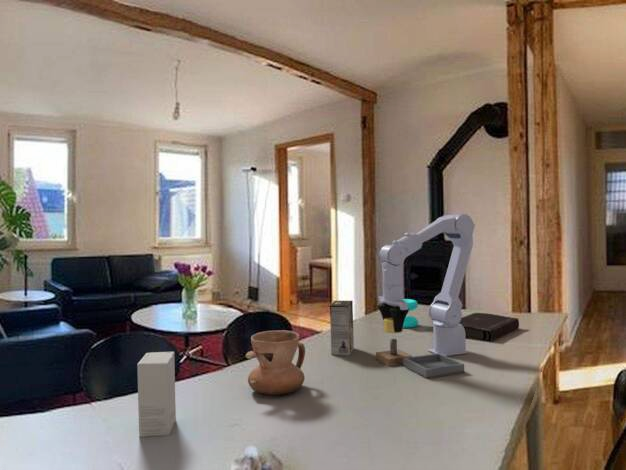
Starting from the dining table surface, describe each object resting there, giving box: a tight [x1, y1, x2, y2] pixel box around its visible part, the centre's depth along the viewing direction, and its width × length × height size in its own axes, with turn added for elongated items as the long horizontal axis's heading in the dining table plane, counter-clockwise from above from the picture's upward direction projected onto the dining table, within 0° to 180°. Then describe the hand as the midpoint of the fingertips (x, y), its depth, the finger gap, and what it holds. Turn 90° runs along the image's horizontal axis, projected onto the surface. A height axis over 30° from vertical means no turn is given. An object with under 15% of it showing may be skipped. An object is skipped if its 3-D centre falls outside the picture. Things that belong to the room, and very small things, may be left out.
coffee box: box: [329, 300, 355, 356], centre depth 163 cm, size 9×6×16 cm
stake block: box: [375, 338, 413, 367], centre depth 151 cm, size 8×8×6 cm
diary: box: [459, 312, 520, 343], centre depth 185 cm, size 19×25×5 cm
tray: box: [402, 353, 465, 379], centre depth 142 cm, size 12×12×2 cm
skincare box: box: [136, 351, 177, 438], centre depth 107 cm, size 8×7×16 cm
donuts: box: [402, 298, 419, 329], centre depth 198 cm, size 10×10×10 cm
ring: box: [382, 318, 404, 334], centre depth 151 cm, size 5×5×4 cm
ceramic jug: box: [245, 329, 306, 396], centre depth 129 cm, size 18×14×14 cm
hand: (393, 329), depth 151 cm, fingers closed on ring, 5 cm apart
